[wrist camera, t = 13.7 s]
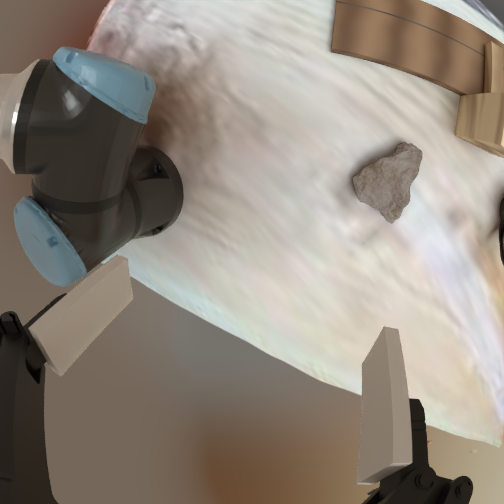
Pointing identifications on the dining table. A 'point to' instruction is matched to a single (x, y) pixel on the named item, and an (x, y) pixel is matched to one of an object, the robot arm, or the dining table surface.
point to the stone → (389, 181)
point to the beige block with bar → (485, 107)
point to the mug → (502, 231)
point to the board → (414, 41)
